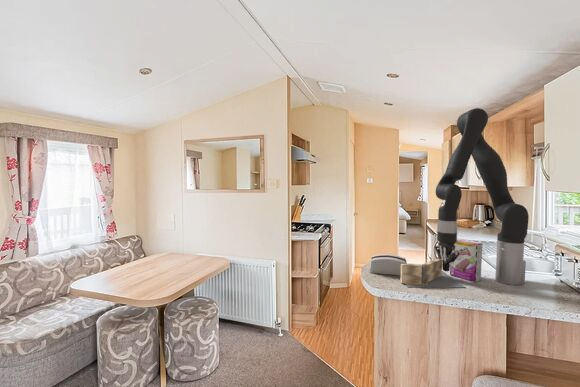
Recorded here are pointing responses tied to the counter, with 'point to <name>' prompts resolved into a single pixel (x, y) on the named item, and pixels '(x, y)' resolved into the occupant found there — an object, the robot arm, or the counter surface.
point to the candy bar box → (467, 260)
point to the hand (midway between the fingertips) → (445, 270)
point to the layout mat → (437, 282)
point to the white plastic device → (386, 264)
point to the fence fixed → (413, 273)
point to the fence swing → (434, 269)
